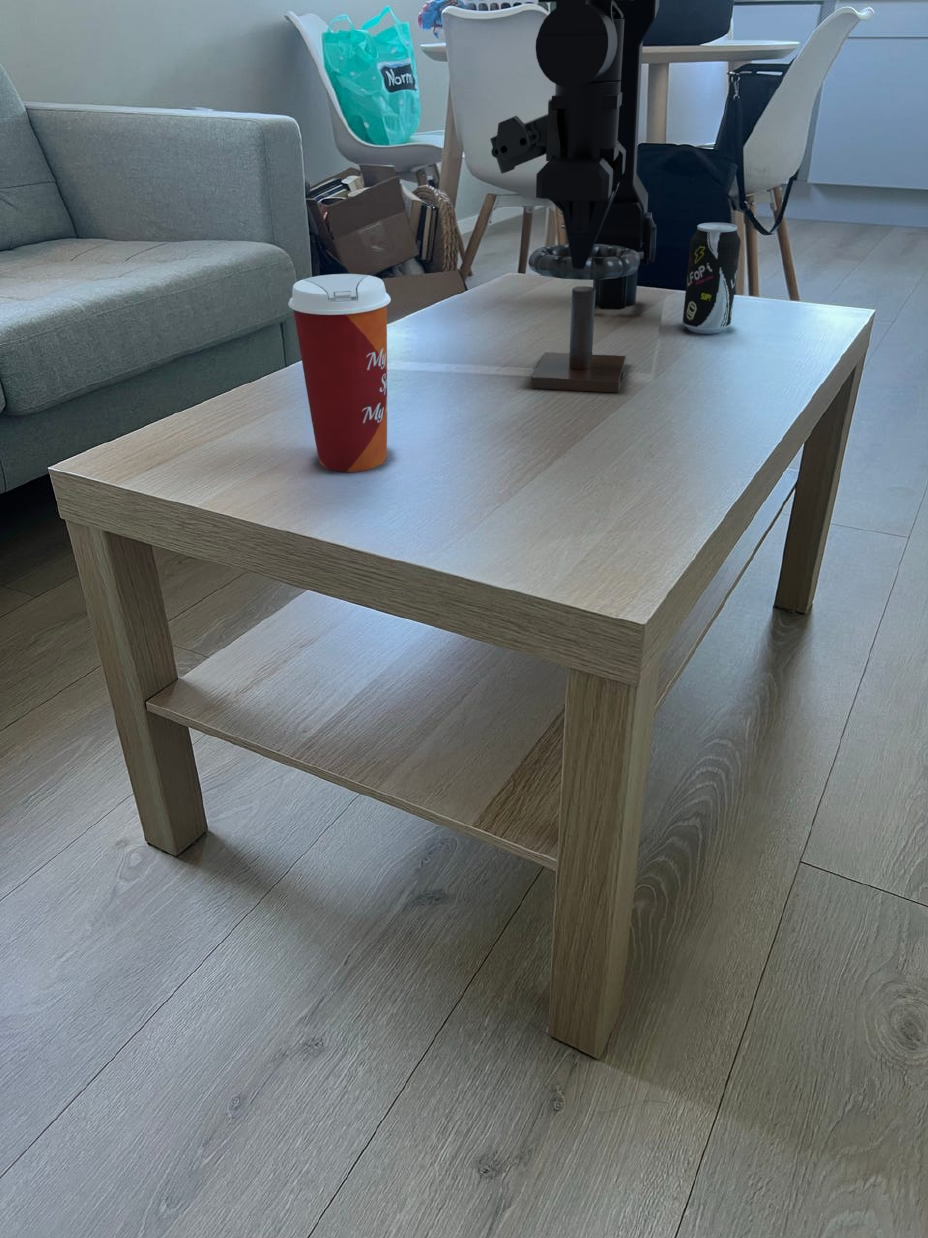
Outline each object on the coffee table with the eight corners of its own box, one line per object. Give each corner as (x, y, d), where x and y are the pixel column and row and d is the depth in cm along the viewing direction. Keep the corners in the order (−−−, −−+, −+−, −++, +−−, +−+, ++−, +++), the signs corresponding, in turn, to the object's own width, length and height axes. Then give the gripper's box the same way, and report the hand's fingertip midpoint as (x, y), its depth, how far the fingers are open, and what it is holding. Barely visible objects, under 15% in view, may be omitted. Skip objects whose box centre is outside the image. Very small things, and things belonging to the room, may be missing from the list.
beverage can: (730, 336, 115) (743, 230, 108) (681, 334, 116) (692, 229, 110) (729, 324, 120) (742, 221, 113) (682, 322, 121) (692, 220, 114)
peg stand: (544, 362, 107) (546, 277, 103) (625, 366, 106) (631, 280, 101) (531, 388, 100) (533, 297, 95) (618, 392, 98) (624, 301, 93)
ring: (538, 260, 103) (538, 241, 102) (641, 263, 101) (643, 243, 100) (521, 279, 93) (521, 257, 92) (634, 282, 91) (636, 260, 90)
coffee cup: (406, 472, 82) (397, 291, 74) (309, 481, 80) (289, 298, 73) (392, 437, 89) (382, 268, 81) (302, 445, 87) (283, 274, 80)
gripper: (516, 76, 94) (514, 244, 102) (476, 88, 78) (478, 285, 86) (631, 75, 91) (620, 247, 100) (614, 87, 76) (602, 289, 84)
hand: (579, 265), depth 93 cm, fingers closed on ring, 2 cm apart
